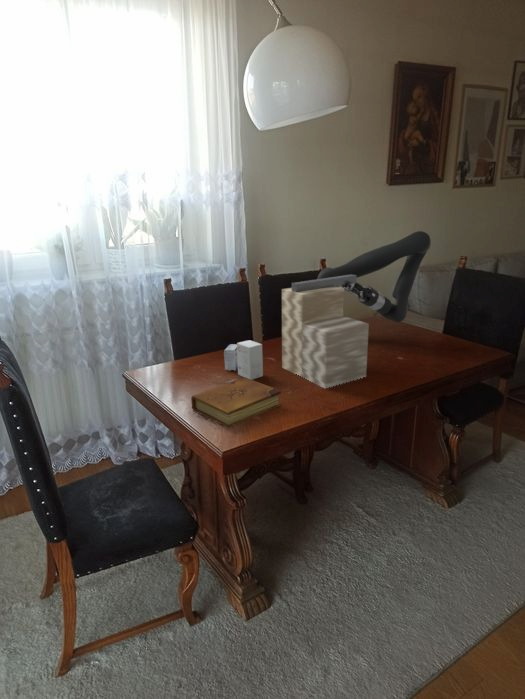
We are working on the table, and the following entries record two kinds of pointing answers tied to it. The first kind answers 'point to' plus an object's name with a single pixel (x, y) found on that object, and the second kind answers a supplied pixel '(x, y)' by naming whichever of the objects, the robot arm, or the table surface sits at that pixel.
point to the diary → (236, 401)
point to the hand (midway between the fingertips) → (347, 283)
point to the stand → (322, 337)
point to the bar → (323, 283)
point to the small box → (250, 359)
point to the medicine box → (231, 357)
